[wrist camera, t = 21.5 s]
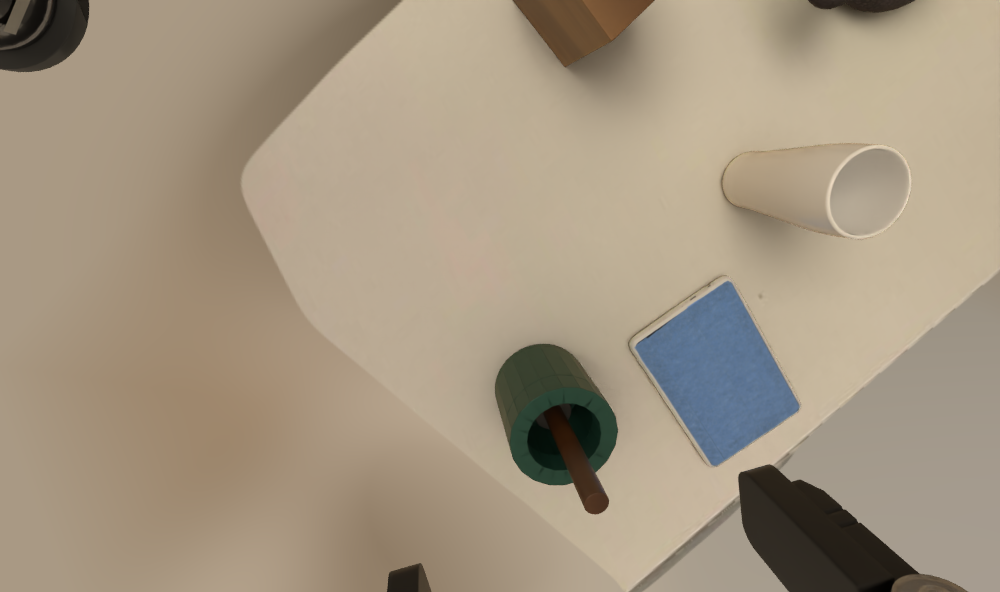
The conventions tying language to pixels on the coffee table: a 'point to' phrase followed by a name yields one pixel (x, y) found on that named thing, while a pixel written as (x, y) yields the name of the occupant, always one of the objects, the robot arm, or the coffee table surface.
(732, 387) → the tablet
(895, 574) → the robot arm
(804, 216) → the white tall cup
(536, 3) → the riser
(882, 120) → the coffee table surface
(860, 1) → the teapot
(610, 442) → the green hollow cylinder
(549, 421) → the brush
